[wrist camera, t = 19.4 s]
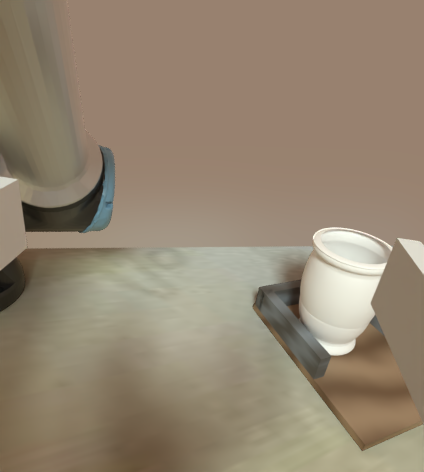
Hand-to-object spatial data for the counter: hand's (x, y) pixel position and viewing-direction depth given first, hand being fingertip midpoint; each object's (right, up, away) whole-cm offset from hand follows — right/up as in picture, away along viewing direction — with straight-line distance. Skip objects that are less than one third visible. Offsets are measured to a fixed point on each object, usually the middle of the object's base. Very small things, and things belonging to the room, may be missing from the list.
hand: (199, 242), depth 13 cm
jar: (+17, -14, +40) cm, 45 cm away
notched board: (+20, -16, +39) cm, 46 cm away
